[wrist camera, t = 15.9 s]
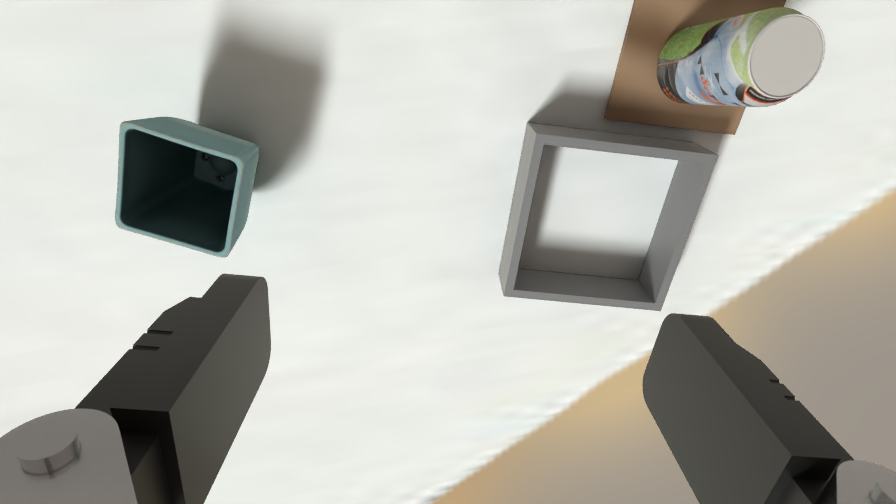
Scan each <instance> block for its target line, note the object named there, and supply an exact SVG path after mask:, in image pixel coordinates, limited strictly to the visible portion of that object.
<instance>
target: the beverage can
mask: <svg viewBox="0 0 896 504" xmlns="http://www.w3.org/2000/svg"><path fill="white" fill-rule="evenodd" d="M824 54H825V40H824V36H823V33H822V30H821V29H820V27H819V25H818V24H817V23H816V22H815V21H814V20H813V19H811V18H810V17H808V16H805V15H803V14H802V13H800V12H798V11H796V10H793V9H790V8H784V7H777V8H770V9H766V10H761V11H757V12H753V13H748V14H744V15H740V16H735V17H731V18H727V19H722V20H718V21H714V22H709V23H705V24H701V25H696V26H692V27H688V28H685V29H683V30H681V31H679V32H678V33H676V34H675V35H673V36H672V37H671V38H670V39H669V40H668V42H667V43H666V44H665V46H664V47H663V49H662V51H661V53H660V55H659V58H658V62H657V79H658V83H659V86H660V88H661V90H662V91H663V93H664V94H665V95H666V96H667V97H668V98H669V99H671V100H673V101H675V102H678V103H682V104H698V105H722V106H745V107H768V106H772V105H776V104H778V103H781V102H783V101H785V100H787V99H788V98H790V97H791V96H793V95H795V94H797V93H798V92H800V91H802V90H803V89H804V88H805V87H807V86H808V85H809V84H810V83H811V81H812V80H813V79H814V78H815V76H816V75H817V73H818V71H819V69H820V67H821V65H822V62H823V59H824Z"/></svg>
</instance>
